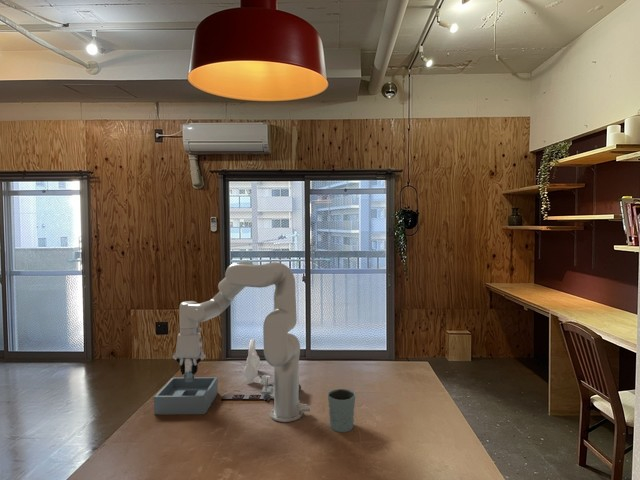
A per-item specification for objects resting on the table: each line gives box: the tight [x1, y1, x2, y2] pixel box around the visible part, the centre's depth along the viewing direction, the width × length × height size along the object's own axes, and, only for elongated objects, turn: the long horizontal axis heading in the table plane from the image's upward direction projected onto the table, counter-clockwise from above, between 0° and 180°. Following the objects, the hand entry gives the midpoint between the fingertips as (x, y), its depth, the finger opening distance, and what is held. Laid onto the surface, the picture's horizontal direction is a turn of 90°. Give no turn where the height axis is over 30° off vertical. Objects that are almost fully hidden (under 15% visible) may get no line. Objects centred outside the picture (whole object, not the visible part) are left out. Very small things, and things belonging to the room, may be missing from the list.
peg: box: [183, 358, 195, 383], centre depth 171 cm, size 4×4×10 cm
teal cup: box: [327, 388, 356, 433], centre depth 148 cm, size 10×10×12 cm
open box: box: [153, 376, 219, 415], centre depth 168 cm, size 20×20×7 cm
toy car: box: [258, 374, 302, 402], centre depth 176 cm, size 18×10×12 cm
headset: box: [243, 338, 261, 385], centre depth 197 cm, size 20×7×18 cm, turn 5°
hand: (189, 373), depth 171 cm, fingers closed on peg, 4 cm apart
